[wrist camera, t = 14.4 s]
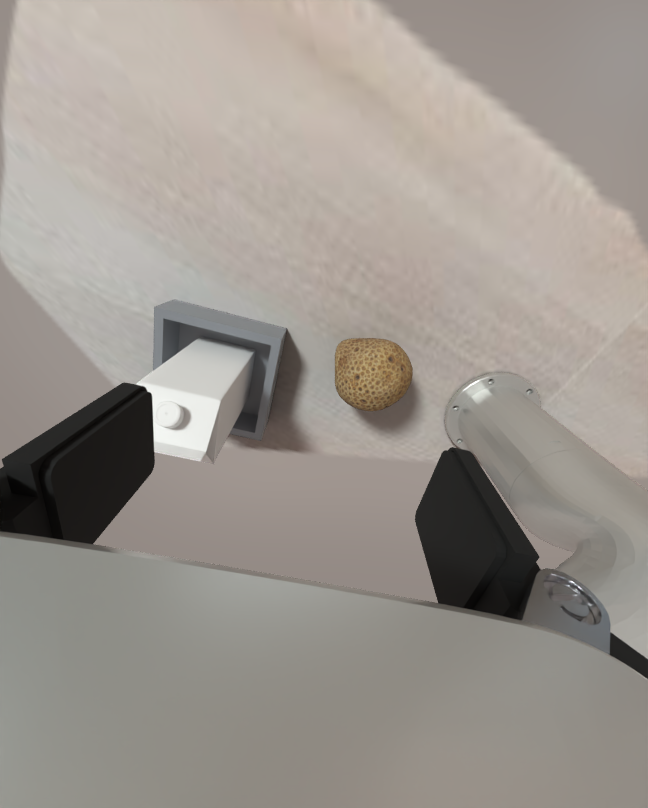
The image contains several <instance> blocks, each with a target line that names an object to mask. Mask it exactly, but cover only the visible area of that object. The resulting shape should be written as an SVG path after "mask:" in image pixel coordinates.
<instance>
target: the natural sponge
mask: <svg viewBox="0 0 648 808" xmlns="http://www.w3.org/2000/svg"><path fill="white" fill-rule="evenodd" d="M411 380H412V365H411V362H410V360H409V358H408V356H407V354H406V353H405V352H404V350H403V349H402V348H401V347H400V346H399V345H397V344H396V343H394V342H391V341H389V340H385V339H375V338H358V339H347V340H344V341H342V342H341V343H340V344H339V345H338V346H337V349H336V353H335V386H336V390H337V392H338V394H339V396H340V397H341V398H342V399H343V400H344V401H345V402H346V403H347V404H349V405H351V406H353V407H355V408H357V409H361V410H365V411H377V410H382V409H384V408H386V407H389V406H391V405H392V404H394V403H395V402H397V401H398V400H399V399H400V398H402V396H403V395H404V394H405V393H406V391H407V389H408V387H409V385H410V383H411Z"/></svg>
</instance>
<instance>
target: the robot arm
mask: <svg viewBox="0 0 648 808" xmlns="http://www.w3.org/2000/svg"><path fill="white" fill-rule="evenodd" d="M489 379H490V380H489ZM444 422H445V428H446V431H447V434H448V435H449V437H450V439H451V440H452V442H453V443H454V444H455V445H456V446H458V447H459V448H460V449H458V448H453V447H452V448H450V449H449V450H448V451H446V450H445V451H444V452H443V453H442V454H441V457H440V459H439V461H438V463H437V466H436V468H435V470H434V472H433V475H432V477H431V480H430V482H429V484H428V486H427V488H426V491H425V493H424V495H423V497H422V500H421V502H420V504H419V506H418V509H417V511H416V515H415V522H416V526H417V529H418V533H419V536H420V540H421V543H422V547H423V551H424V554H425V558H426V561H427V565H428V568H429V571H430V575H431V579H432V582H433V586H434V589H435V593H436V597H437V600H438V603H434V602H429V601H423V600H417V599H412V598H406V597H400V596H395V595H389V594H383V593H378V592H372V591H366V590H361V589H355V588H349V587H344V586H338V585H332V584H327V583H321V582H315V581H309V580H303V579H297V578H291V577H285V576H280V575H274V574H267V573H262V572H257V571H251V570H244V569H239V568H233V567H227V566H221V565H215V564H209V563H203V562H197V561H191V560H185V559H179V558H173V557H166V556H161V555H155V554H149V553H143V552H136V551H131V550H124V549H118V548H112V547H106V546H100V545H94V544H93V543H94V542H95V541H96V539H97V538H98V537H99V536H100V535H101V533H102V532H103V531H104V530H105V528H106V527H107V526H108V525H109V524H110V523H111V521H112V520H113V519H114V518H115V516H116V515H117V514H118V513H119V512H120V510H121V509H122V508H123V507H124V505H125V504H126V503H127V502H128V500H129V499H130V498H131V497H132V496H133V495H134V493H135V492H136V491H137V490H138V489H139V487H140V486H141V485H142V484H143V483H144V481H145V480H146V479H147V478H148V476H149V475H150V474H151V472H152V470H153V468H154V461H155V460H154V431H153V403H152V394H151V393H150V392H147V389H146V387H144V386H140V385H135V384H130V383H122V384H120V385H119V386H117V387H116V388H114V389H112V390H111V391H109V392H108V393H106V394H105V395H103V396H101V397H100V398H98V399H97V400H95V401H93V402H92V403H90V404H89V405H87V406H86V407H84V408H82V409H81V410H79V411H78V412H76V413H74V414H73V415H71V416H70V417H68V418H67V419H65V420H64V421H62V422H60V423H59V424H57V425H55V426H54V427H52V428H51V429H49V430H48V431H46V432H44V433H43V434H41V435H40V436H38V437H36V438H35V439H33V440H32V441H30V442H29V443H27V444H25V445H24V446H22V447H21V448H19V449H18V450H16V451H14V452H13V453H11V454H10V455H8V456H6V457H5V458H3V459H2V462H3V465H4V467H2V468H1V469H0V808H648V490H647V489H645V488H644V487H642V486H641V485H639V484H638V483H637V482H636V481H634V480H633V479H632V478H630V477H629V476H627V475H626V474H625V473H623V472H622V471H621V470H619V469H618V468H617V467H616V466H614V465H613V464H612V463H610V462H609V461H608V460H607V459H605V458H604V457H603V456H601V455H600V454H599V453H597V452H596V451H595V450H594V449H592V448H591V447H590V446H589V445H587V444H586V443H585V442H584V441H582V440H581V439H580V438H578V437H577V436H576V435H575V434H573V433H572V432H571V431H570V430H568V429H567V428H566V427H565V426H563V425H562V424H561V423H559V422H558V421H557V420H556V419H554V418H553V417H552V416H551V415H549V414H548V413H547V412H546V411H544V410H543V409H542V408H541V401H540V396H539V394H538V392H537V390H536V388H535V387H534V386H533V385H532V384H531V383H530V382H528V381H527V380H526V379H524V378H522V377H520V376H518V375H516V374H512V373H505V372H496V373H489V374H486V375H482V376H479V377H477V378H475V379H473V380H471V381H470V382H468V383H467V384H465V385H464V386H463V387H461V388H460V389H459V390H458V391H457V392H456V393H455V395H454V396H453V397H452V398H451V400H450V402H449V404H448V406H447V409H446V412H445V420H444ZM472 453H473V454H475V456H476V457H477V459H478V460H479V462H480V463H481V465H482V466H483V468H484V469H485V470H486V472H487V473H488V475H489V476H490V478H491V479H492V481H493V482H494V484H495V485H496V487H497V488H498V490H499V491H500V492H501V494H502V496H503V497H504V499H505V500H506V502H507V503H508V504H509V506H510V507H511V509H512V510H513V512H514V513H515V514H516V516H517V517H518V519H519V520H520V522H521V523H522V524H523V525H524V526H525V527H526V528H527V529H528V530H529V531H530V532H531V533H533V534H534V535H535V536H537V537H538V538H540V539H542V540H543V541H545V542H547V543H549V544H552V545H554V546H557V547H559V548H562V549H565V550H568V551H572V552H575V553H574V554H573V555H572V556H571V557H570V558H568V559H567V560H566V561H564V562H563V563H561V564H560V565H559V567H557V568H556V569H547V568H546V569H542V570H540V568H539V566H538V565H537V563H536V561H537V560H538V558H539V556H538V554H537V552H536V551H535V549H534V548H533V546H532V545H531V543H530V542H529V540H528V538H527V537H526V535H525V534H524V532H523V531H522V529H521V528H520V526H519V525H518V523H517V522H516V520H515V518H514V517H513V515H512V514H511V512H510V511H509V509H508V508H507V506H506V505H505V503H504V502H503V500H502V499H501V497H500V495H499V494H498V493H497V491H496V489H495V488H494V486H493V485H492V483H491V482H490V480H489V479H488V477H487V476H486V474H485V472H484V471H483V469H482V468H481V466H480V465H479V463H478V462H477V460H476V459H475V457H474V455H473V454H472Z"/></svg>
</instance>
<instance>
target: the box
mask: <svg viewBox="0 0 648 808" xmlns="http://www.w3.org/2000/svg"><path fill="white" fill-rule="evenodd" d="M286 331H287V328H283V327H279V326H275V325H271V324H267V323H264V322H260V321H256V320H252V319H248V318H244V317H240V316H236V315H233V314H229V313H225V312H221V311H217V310H213V309H209V308H205V307H202V306H198V305H194V304H190V303H186V302H182V301H178V300H172V301H169V302H166V303H163V304H161V305H158V306H155V307H154V350H153V371H154V370H155V369H157V368H158V367H159V366H161V365H162V364H163V363H165V362H166V361H168V360H169V359H170V358H172V357H173V356H174V355H176V354H177V353H179V352H180V351H181V350H183V349H184V348H185V347H187V346H188V345H190V344H191V343H192V342H194V341H195V340H196V339H198V338H199V337H206V338H210V339H214V340H218V341H222V342H227V343H231V344H235V345H239V346H243V347H247V348H251V349H255V350H256V352H255V358H254V365H253V371H252V377H251V384H250V390H249V396H248V399H247V401H246V403H245V405H244V407H243V409H242V411H241V413H240V414H239V416H238V418H237V420H236V422H235V424H234V426H233V428H232V430H231V431H230V433H229V434H232V435H237V436H241V437H246V438H250V439H255V440H259V441H261V440H262V437H263V434H264V431H265V429H266V426H267V423H268V419H269V414H270V409H271V404H272V399H273V394H274V389H275V385H276V380H277V375H278V370H279V365H280V360H281V355H282V350H283V346H284V341H285V336H286Z"/></svg>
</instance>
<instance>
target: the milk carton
mask: <svg viewBox="0 0 648 808" xmlns="http://www.w3.org/2000/svg"><path fill="white" fill-rule="evenodd" d="M255 352H256V350H255V349H251V348H247V347H243V346H239V345H235V344H231V343H227V342H222V341H218V340H214V339H210V338H206V337H199V338H198V339H196V340H195V341H194V342H192V343H191V344H190V345H188V346H187V347H185V348H184V349H183V350H181V351H180V352H179V353H177V354H176V355H174V356H173V357H172V358H170V359H169V360H168V361H166V362H165V363H163V364H162V365H161V366H159V367H158V368H157V369H155V370H154V371H152V372H151V373H150V374H148V375H147V376H146V377H144V378H143V379H141V380H140V381H139V382H138V383H137V384H136V385H140V386H144V387H146V389H147V392H150V393H151V394H152V403H153V431H154V452H157V453H161V454H166V455H171V456H176V457H181V458H186V459H191V460H195V461H200V462H205V463H211V464H214V462H215V460H216V458H217V456H218V454H219V452H220V450H221V449H222V447H223V445H224V443H225V441H226V439H227V437H228V435H229V433H230V431H231V430H232V428H233V426H234V424H235V422H236V420H237V418H238V416H239V414H240V413H241V411H242V409H243V407H244V405H245V403H246V401H247V399H248V396H249V390H250V384H251V377H252V371H253V365H254V358H255Z"/></svg>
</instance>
